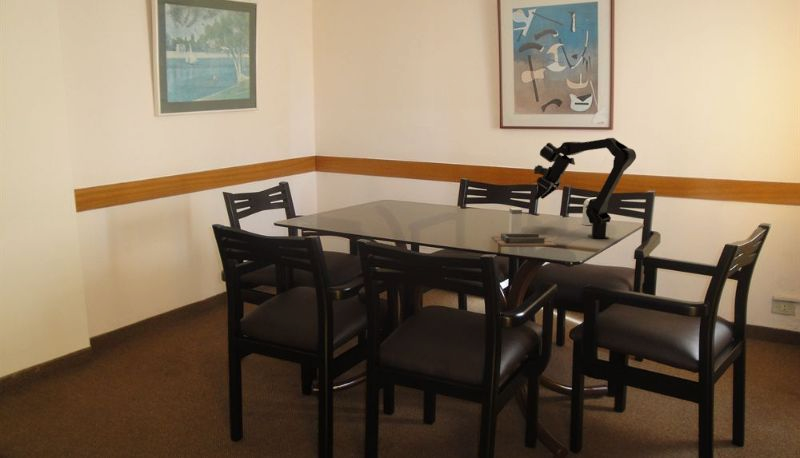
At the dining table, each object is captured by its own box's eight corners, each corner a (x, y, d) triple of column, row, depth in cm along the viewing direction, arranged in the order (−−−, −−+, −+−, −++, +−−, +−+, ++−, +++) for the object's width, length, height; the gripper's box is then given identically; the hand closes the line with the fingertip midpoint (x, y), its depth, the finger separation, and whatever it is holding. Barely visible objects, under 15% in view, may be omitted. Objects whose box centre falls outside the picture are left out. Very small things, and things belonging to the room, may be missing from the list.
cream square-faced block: (520, 235, 294) (522, 209, 292) (511, 235, 294) (512, 209, 292) (517, 233, 299) (519, 207, 297) (508, 233, 299) (509, 207, 296)
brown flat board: (556, 246, 275) (557, 240, 274) (501, 246, 273) (501, 240, 272) (544, 237, 291) (545, 231, 290) (492, 237, 289) (492, 231, 288)
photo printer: (595, 222, 328) (597, 196, 326) (603, 224, 325) (605, 197, 322) (580, 224, 323) (582, 197, 320) (587, 226, 319) (589, 198, 317)
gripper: (548, 158, 313) (529, 187, 318) (536, 158, 296) (517, 189, 301) (569, 171, 309) (550, 201, 314) (558, 172, 292) (538, 203, 297)
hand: (538, 198), depth 307 cm, fingers open, 9 cm apart
